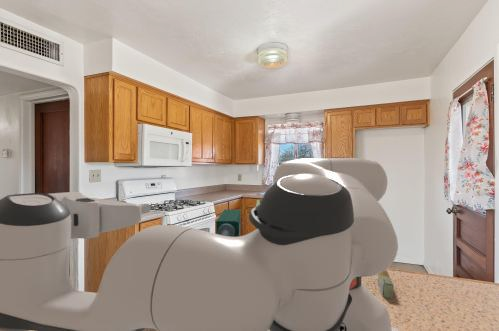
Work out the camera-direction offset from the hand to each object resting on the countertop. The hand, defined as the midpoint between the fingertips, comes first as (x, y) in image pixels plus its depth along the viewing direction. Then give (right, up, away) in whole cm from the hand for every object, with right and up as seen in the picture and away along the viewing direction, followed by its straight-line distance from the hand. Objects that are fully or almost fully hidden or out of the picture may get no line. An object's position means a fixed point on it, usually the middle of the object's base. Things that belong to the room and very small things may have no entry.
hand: (136, 206), depth 62 cm
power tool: (+20, -28, +27) cm, 44 cm away
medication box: (+67, -28, +18) cm, 75 cm away
